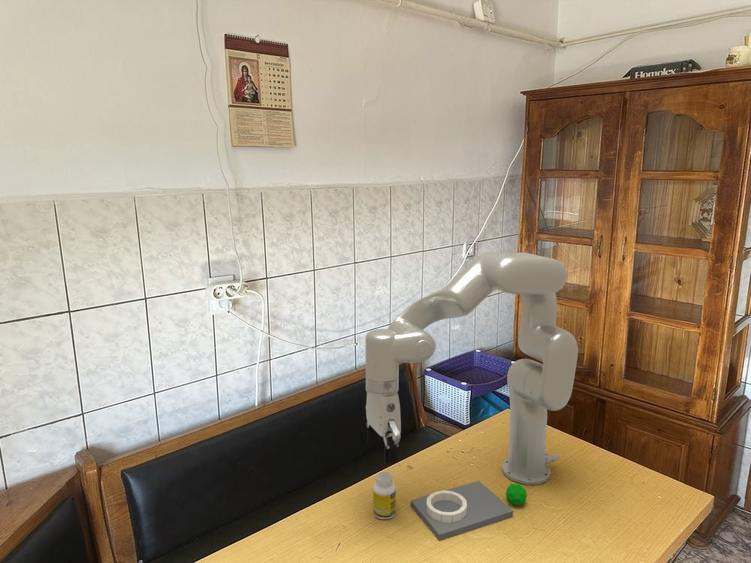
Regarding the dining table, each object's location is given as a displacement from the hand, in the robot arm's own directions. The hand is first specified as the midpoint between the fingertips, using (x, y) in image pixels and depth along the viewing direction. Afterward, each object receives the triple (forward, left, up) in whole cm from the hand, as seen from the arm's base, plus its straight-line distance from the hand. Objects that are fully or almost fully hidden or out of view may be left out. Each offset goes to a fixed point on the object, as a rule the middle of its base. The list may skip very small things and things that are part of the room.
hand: (381, 452), depth 125 cm
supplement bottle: (0, 0, -16) cm, 16 cm away
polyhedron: (-31, +10, -16) cm, 37 cm away
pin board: (-17, +7, -16) cm, 25 cm away
